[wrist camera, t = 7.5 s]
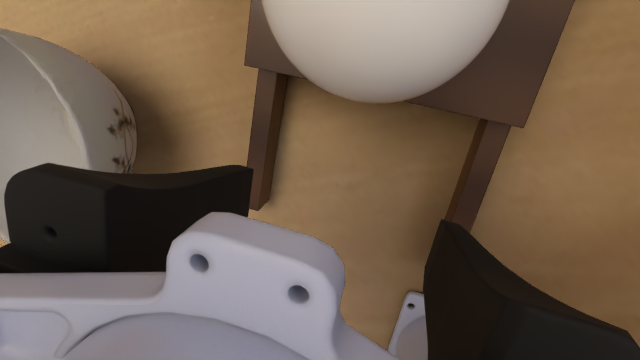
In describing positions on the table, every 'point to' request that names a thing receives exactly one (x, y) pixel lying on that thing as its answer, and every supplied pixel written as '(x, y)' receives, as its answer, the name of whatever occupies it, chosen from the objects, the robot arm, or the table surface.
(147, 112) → the table surface
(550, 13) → the rack
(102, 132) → the teacup
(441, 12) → the lightbulb
